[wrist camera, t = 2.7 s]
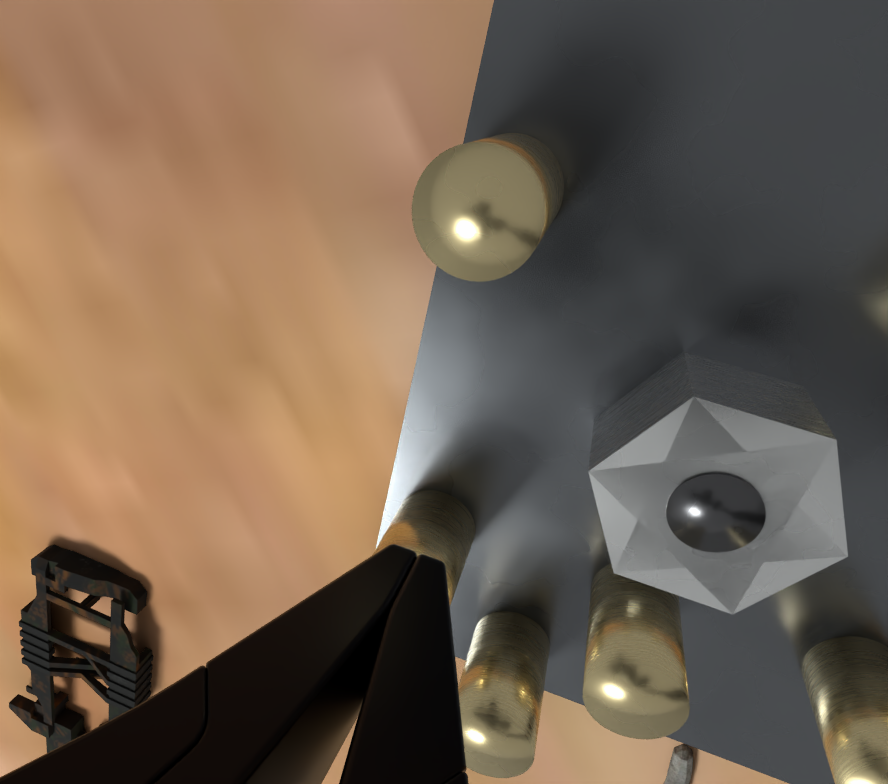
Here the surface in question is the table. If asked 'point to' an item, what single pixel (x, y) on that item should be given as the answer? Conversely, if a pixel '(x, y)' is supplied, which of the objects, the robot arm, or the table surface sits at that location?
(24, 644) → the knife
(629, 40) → the spacer plate
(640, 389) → the nut
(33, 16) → the table surface
